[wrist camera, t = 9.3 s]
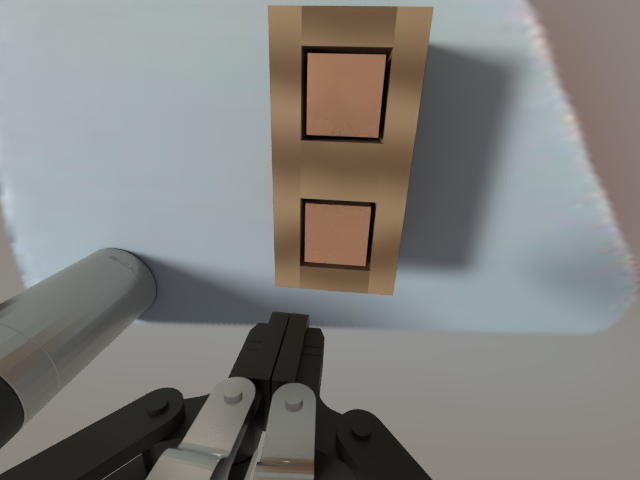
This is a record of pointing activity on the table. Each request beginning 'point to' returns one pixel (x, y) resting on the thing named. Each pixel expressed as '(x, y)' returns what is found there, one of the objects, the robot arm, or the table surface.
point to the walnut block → (343, 137)
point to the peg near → (344, 94)
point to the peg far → (336, 231)
